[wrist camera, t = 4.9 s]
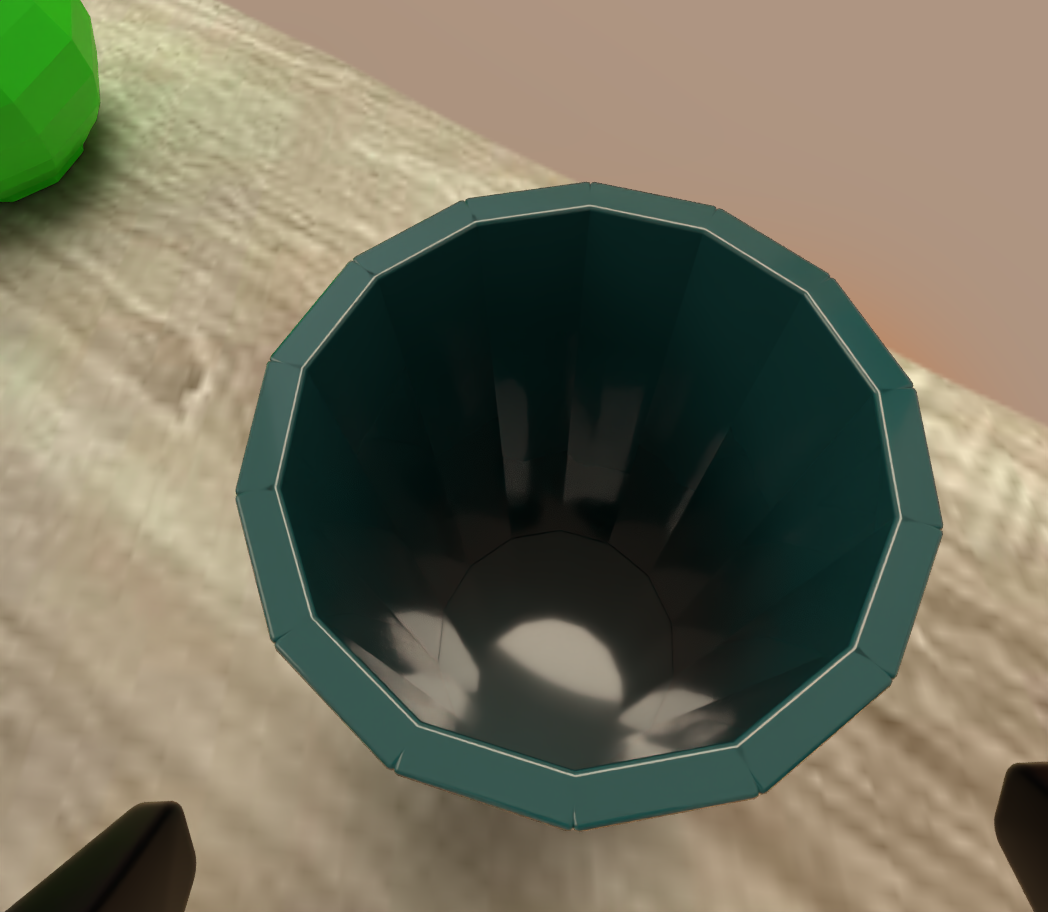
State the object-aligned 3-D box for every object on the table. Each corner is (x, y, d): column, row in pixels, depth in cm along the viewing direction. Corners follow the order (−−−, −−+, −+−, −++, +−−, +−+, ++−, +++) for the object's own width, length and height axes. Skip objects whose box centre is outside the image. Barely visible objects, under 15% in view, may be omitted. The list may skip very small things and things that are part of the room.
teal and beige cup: (481, 842, 16) (356, 992, 5) (392, 576, 19) (179, 287, 8) (735, 725, 17) (1103, 632, 6) (615, 487, 20) (716, 116, 9)
